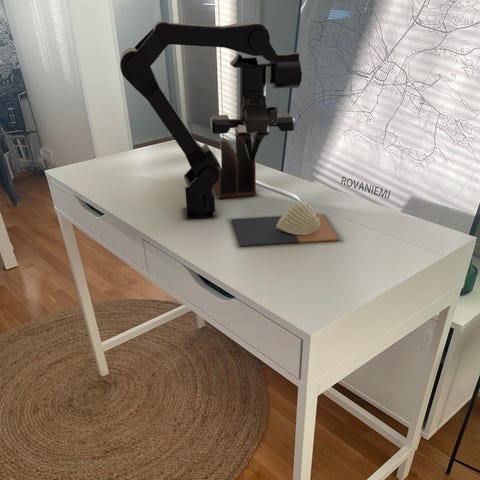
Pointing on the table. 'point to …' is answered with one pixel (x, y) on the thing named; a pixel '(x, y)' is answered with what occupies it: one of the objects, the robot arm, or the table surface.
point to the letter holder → (235, 171)
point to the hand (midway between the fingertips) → (251, 161)
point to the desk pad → (277, 232)
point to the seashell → (299, 220)
